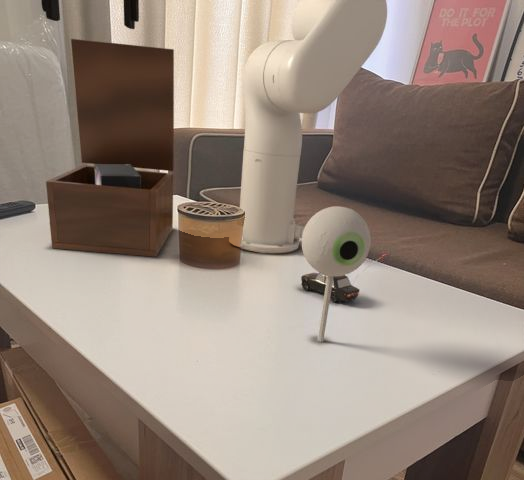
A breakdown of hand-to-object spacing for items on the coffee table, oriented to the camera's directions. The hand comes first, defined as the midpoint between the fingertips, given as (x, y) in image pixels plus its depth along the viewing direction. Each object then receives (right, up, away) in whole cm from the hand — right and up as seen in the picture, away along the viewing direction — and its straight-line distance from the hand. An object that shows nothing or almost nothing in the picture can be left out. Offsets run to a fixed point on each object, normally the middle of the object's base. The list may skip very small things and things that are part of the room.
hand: (91, 23), depth 67 cm
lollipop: (+28, -41, -7) cm, 50 cm away
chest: (-3, -22, +22) cm, 32 cm away
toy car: (+32, -35, +6) cm, 48 cm away
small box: (-2, -22, +21) cm, 31 cm away
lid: (-1, -1, +21) cm, 21 cm away
